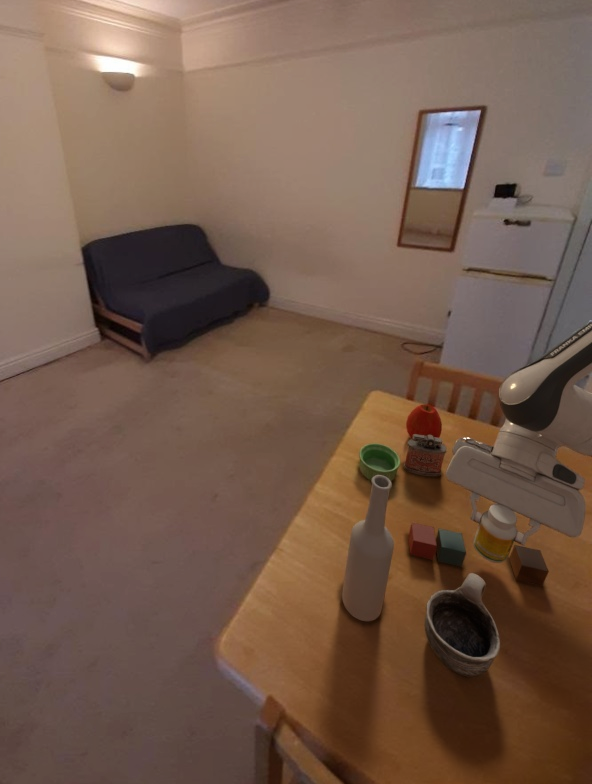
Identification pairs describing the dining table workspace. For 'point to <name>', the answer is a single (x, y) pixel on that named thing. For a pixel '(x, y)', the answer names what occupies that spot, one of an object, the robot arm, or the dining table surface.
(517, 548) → the brown block
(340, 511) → the dining table surface
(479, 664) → the mug
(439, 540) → the block
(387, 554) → the bottle
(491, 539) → the supplement bottle
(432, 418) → the apple
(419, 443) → the lighter
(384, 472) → the ramekin
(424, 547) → the red cube
